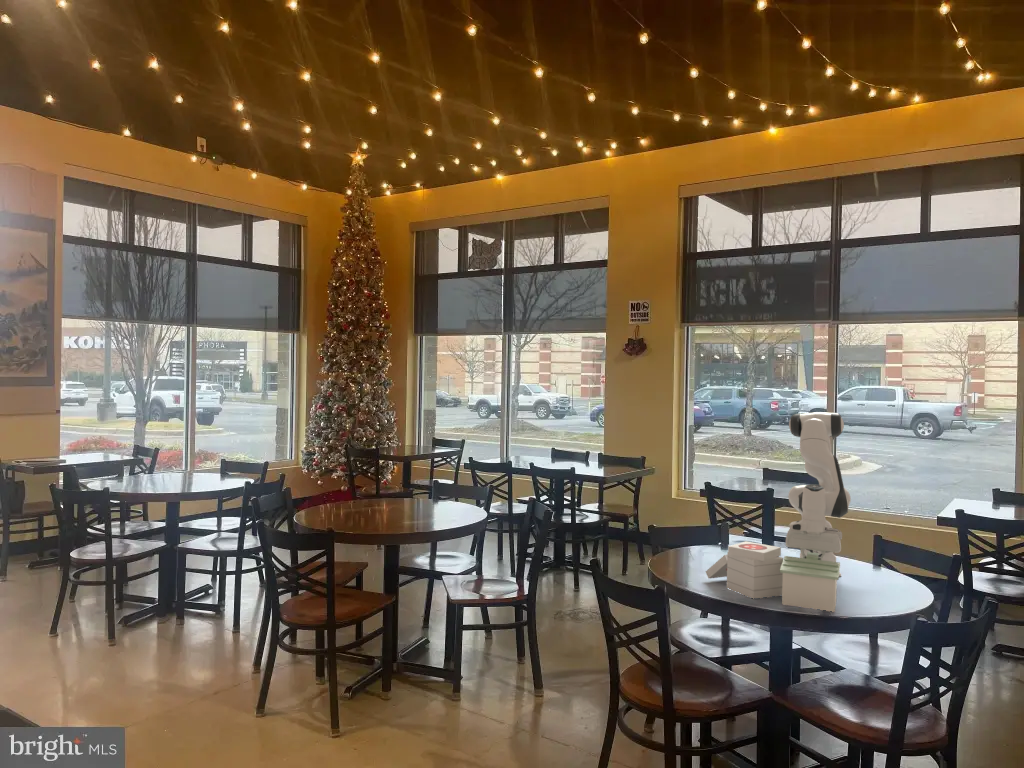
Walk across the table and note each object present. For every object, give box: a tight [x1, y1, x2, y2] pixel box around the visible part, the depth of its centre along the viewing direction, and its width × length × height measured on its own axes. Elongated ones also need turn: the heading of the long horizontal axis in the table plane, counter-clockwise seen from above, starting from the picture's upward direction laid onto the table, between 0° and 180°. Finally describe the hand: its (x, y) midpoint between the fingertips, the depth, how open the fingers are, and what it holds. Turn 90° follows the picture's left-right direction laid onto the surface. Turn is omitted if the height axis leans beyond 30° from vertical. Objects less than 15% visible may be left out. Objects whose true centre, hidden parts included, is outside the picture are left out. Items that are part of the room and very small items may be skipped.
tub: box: [781, 573, 838, 613], centre depth 268 cm, size 16×18×12 cm
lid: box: [780, 552, 841, 581], centre depth 271 cm, size 24×20×4 cm
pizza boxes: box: [705, 540, 784, 600], centre depth 286 cm, size 19×30×18 cm, turn 24°
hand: (812, 561), depth 280 cm, fingers closed on lid, 4 cm apart
